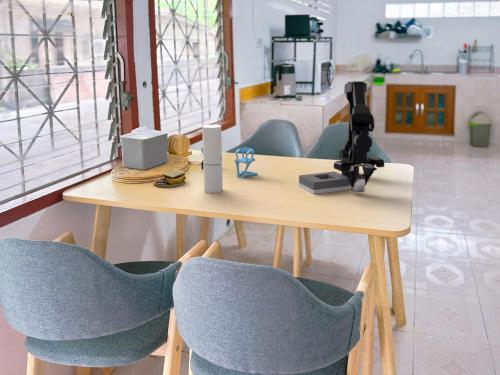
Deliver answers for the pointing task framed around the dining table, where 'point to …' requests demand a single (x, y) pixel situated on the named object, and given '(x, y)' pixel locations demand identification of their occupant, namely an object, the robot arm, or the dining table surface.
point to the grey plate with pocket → (324, 182)
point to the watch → (202, 160)
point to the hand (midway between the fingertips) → (358, 186)
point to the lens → (359, 183)
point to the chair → (244, 160)
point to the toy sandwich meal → (171, 179)
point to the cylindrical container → (212, 158)
